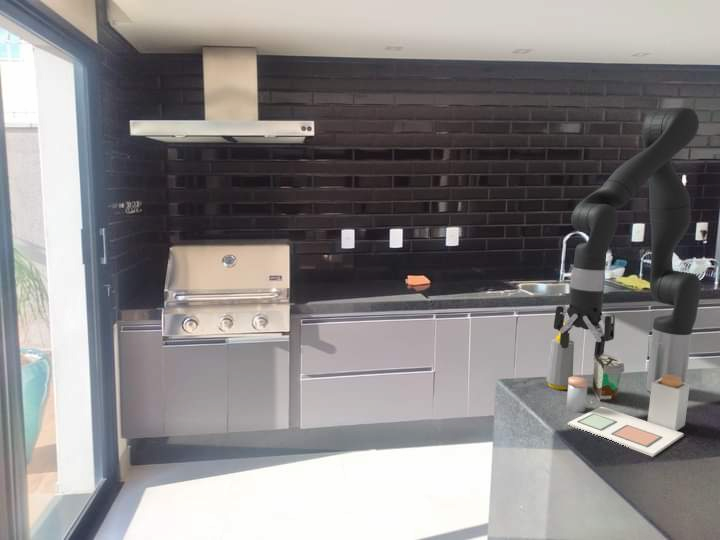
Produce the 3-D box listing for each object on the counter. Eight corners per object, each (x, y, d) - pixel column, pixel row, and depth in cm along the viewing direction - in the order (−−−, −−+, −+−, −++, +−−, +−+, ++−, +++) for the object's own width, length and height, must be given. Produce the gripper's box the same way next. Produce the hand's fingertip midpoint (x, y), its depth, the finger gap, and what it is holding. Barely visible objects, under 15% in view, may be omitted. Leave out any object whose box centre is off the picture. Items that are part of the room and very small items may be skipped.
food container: (626, 406, 142) (630, 368, 140) (600, 403, 143) (604, 366, 141) (614, 389, 154) (618, 354, 152) (591, 386, 155) (594, 352, 153)
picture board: (600, 408, 139) (601, 405, 139) (683, 435, 125) (683, 432, 125) (567, 425, 129) (567, 422, 129) (653, 456, 115) (653, 453, 115)
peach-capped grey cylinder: (571, 403, 142) (574, 375, 141) (589, 409, 139) (591, 380, 138) (562, 407, 139) (564, 378, 138) (579, 413, 136) (582, 384, 135)
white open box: (657, 416, 135) (662, 377, 134) (684, 425, 131) (689, 384, 129) (647, 423, 132) (651, 382, 130) (674, 432, 127) (679, 390, 125)
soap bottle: (566, 381, 158) (571, 320, 155) (576, 390, 151) (582, 326, 148) (542, 381, 158) (547, 319, 155) (551, 390, 151) (556, 326, 148)
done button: (664, 383, 133) (665, 373, 132) (683, 388, 130) (684, 378, 129) (657, 386, 130) (658, 376, 130) (676, 392, 127) (677, 381, 127)
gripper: (623, 290, 132) (616, 356, 134) (567, 281, 142) (562, 342, 145) (608, 293, 127) (601, 362, 129) (552, 283, 137) (546, 347, 140)
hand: (580, 351), depth 137 cm, fingers open, 8 cm apart
